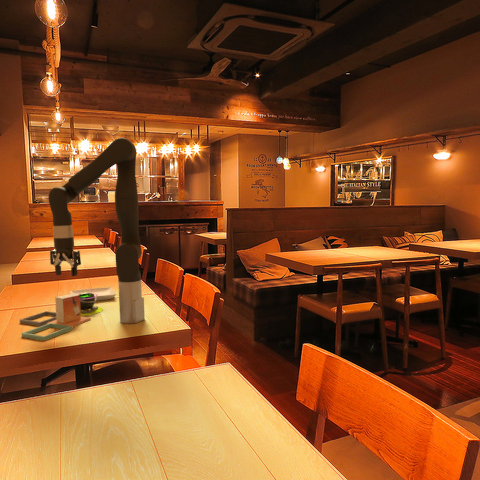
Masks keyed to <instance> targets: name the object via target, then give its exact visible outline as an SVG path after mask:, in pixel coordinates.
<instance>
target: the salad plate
mask: <svg viewBox="0 0 480 480" xmlns="http://www.w3.org/2000/svg"><path fill="white" fill-rule="evenodd" d="M82 289H83V290H82ZM82 289H75V290H70V292H69V294H72V293H73V294H77V295H79V294H83V293H84V292H85V293H93V294H94V295H95V294H96V295H97V294H98V296H96V295H95V296H96V297H95V299H96V300H95V302H101V301H107V300H111V299H113V298H114V297H116V296H117V293H116V291H114V289H113V288H112V287H111V286H108V287H106V286H105V287H93V288H82ZM87 289H89V290H87ZM93 290H94V291H93Z"/></svg>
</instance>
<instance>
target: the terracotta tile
mask: <svg viewBox="0 0 480 480" xmlns="http://www.w3.org/2000/svg"><path fill="white" fill-rule="evenodd" d="M91 320H92V319H91V317H88V316H87V317H84V316H81V319H80V320H75V321H71V322H67V323H60V322H57V321H56V320H54V321H51V322H48V323H47V324H49V323H55V324H62V325H69V326H72V328H73V327H77V326H78V325H82V324H83V323H86V322H88V321H91Z"/></svg>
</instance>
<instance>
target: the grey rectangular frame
mask: <svg viewBox="0 0 480 480" xmlns="http://www.w3.org/2000/svg"><path fill="white" fill-rule="evenodd" d="M45 316H49V317H50V316H51V318H48V319H45V320H42V321H36V319H39V318H43V317H45ZM54 320H56V311H43V312H40V313H36V314H33V315H30V316H26V317H24V318H21V319H19V324H24V325H30V326H36V327H41V326H43V325H46V324H47V323H48V322H51V321H54Z"/></svg>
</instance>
